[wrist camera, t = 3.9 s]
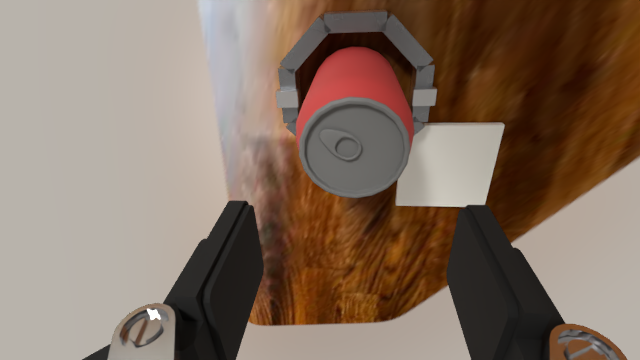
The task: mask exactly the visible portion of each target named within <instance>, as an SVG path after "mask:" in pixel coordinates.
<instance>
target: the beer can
mask: <svg viewBox="0 0 640 360" xmlns="http://www.w3.org/2000/svg"><path fill="white" fill-rule="evenodd" d="M414 131H415V130H414V124H413V117H412V112H411V110H410V107H409V105H408V103H407V100H406V98H405V96H404V93H403V91H402V89H401V86H400V84H399V82H398V79H397V77H396V75H395V73H394V71H393V69H392V67H391V65H390V63H389V62H388V61H387V60H386V59H385V58H384V57H383V56H382V55H381V54H380V53H379V52H376V51H374V50H372V49H369V48H367V47H358V46H350V47H347V48H343V49H340V50H337V51H336V52H334V53H333V54H331V55H330V56H328V57H327V58H326V59H325V61H324V62H323V63H322V64H321V66H320V67H319V68H318V70H317V73H316V75H315V77H314V79H313V82H312V84H311V86H310V89H309V91H308V93H307V95H306V98H305V100H304V102H303V104H302V107H301V110H300V113H299V115H298V118H297V121H296V142H297V146H298V149H299V156H300V159H301V162H302V165H303V168H304V170H305V172H306V173H307V174H308V176H309V177H310V178H311V180H312V181H313V182H314V183H315V184H317V185H318V186H319V187H321V188H322V189H324V190H325V191H327V192H329V193H332V194H335V195H337V196H340V197H350V198H360V197H366V196H372V195H375V194H377V193H379V192H381V191H383V190H385V189H387V188H388V187H390V186H391V185H392V184H393V183H394V182H395V181H396V180H397V179H398V178H399V177H400V176H401V174H402V172H403V171H404V169H405V167H406V166H407V164H408V159H409V154H410V152H411V147H412V142H413V137H414Z"/></svg>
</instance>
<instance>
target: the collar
mask: <svg viewBox="0 0 640 360" xmlns="http://www.w3.org/2000/svg"><path fill="white" fill-rule="evenodd" d="M352 32H383V33H384V34H385V35H386V36H387V37H388V38H389V40H390V41H391V42H392V43H393V44H394V45H395V46H396V47H397V48H398V49H399V50H400V52H401V53H402V54H403V55H404V56H405V57H406V58H407V59H408V60H409V61H410V63H411V64H412V74H411V85H410V96H409V107H410V110H411V112H412V117H413V124H414V130H415V131H414V136H415V135H416V134H417V133H418V132H419V131H421V130H422V129H423V128H424V127H425V126H424V123H423V122H428V116H429V108H430V106H435V101H436V94H437V88H436V87H432V85H433V77H434V69H435V65H434V64H433V63H432V62H431V61H433V59H432V58H431V56H430V55H429V54H428V53H427V52H426V51H425V50H424V49H423V47H422V46H421V45H420V44H419V43H418V42H417V41H416V39H415V38H414V37H413V36H412V35H411V34H410V33H409V32H408V30H407V29H406V28H405V27H404V26H403V25H402V24H401V22H400V21H399V20H398V19H397V18H396V17H395V16H394V15H393V14H392V13H391V12H389V13H388V14H387V11H386V10H385V9H381V10H356V11H331V12H326V13H325V14H324V16H323V15H322V14H321V15H320V16H319V17H318V18H317V19H316V20H315V22H314V23H313V24H312V25H311V26H310V28H309V29H308V30H307V31H306V32H305V34H304V35H303V36H302V37H301V39H300V40H299V41H298V42H297V43H296V45H295V46H294V47H293V48H292V49H291V51H290V52H289V53H288V54H287V55H286V57H285V58H284V59H283V60H282V61H281V63H280V64H281V66H280V67H279V69H278V72H279V82H280V89H278V90H277V91H276V98H277V108H282V111H283V121H284V123H288V124H287V127H286V128H287V129H288V130H290V131H291V132H292V133H293V134H294V135H295V136H296V121H297V118H298V115H299V113H300V110H301V107H302V102H301V88H300V74H299V67H300V66H301V64H302V63H303V62H304V61H305V60H306V59H307V58H308V56H309V55H310V54H311V53H312V52H313V51H314V49H315V48H316V47H317V46H318V45H319V44H320V43H321V41H322V40H323V39H324V38H325V37H326V36H327V34H328V33H352Z"/></svg>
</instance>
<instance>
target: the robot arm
mask: <svg viewBox="0 0 640 360" xmlns="http://www.w3.org/2000/svg"><path fill="white" fill-rule="evenodd" d="M263 269H264V265H263V258H262V253H261V247H260V241H259V235H258V229H257V224H256V218H255V212H254V207H253V206H252V205H248V202H247V201H229V202H228V203H227V205H226V207H225V208H224V211H223V212H222V214H221V215H220V217H219V219H218V221H217V222H216V224H215V226H214V227H213V229H212V231H211V232H210V235H209V236H208V238H207V239H203V240H201V242H200V243H199V244H198V246H197V248H196V249H195V251H194V253H193V254H192V256H191V258H190V259H189V261H188V263H187V264H186V266H185V268H184V269H183V271H182V273H181V274H180V276H179V277H178V280H177V281H176V282H175V284H174V286H173V287H172V289H171V291H170V292H169V294H168V296H167V297H166V299H165V301H164V302H163V304H160V303H154V304H148V305H145V306H143V307H140V308H138V309H136V310H134V311H133V312H131V313H129V314H128V315H127V316H126V317H125V318H124V319H123V320H122V321H121V322H120V323H119V325H118V326H117V327H116V329H115V331H114V334H113V337H112V341H111V344H110V345H108V346H106V347H104V348H103V349H100V350H99V351H97V352H95V353H93V354H91V355H90V356H88V357H86V358H84V359H82V360H236V357H237V354H238V351H239V348H240V344H241V341H242V338H243V335H244V332H245V328H246V326H247V322H248V319H249V316H250V313H251V310H252V307H253V304H254V300H255V297H256V294H257V291H258V288H259V285H260V282H261V278H262V275H263ZM447 282H448V285H449V288H450V291H451V295H452V298H453V302H454V305H455V308H456V311H457V315H458V318H459V321H460V324H461V328H462V330H463V334H464V337H465V341H466V344H467V347H468V350H469V354H470V357H471V360H627V358H626V357H625V355H624V354H623V353H622V352H621V350H620V349H619V348H618V347H617V346H616V345H615V344H614V343H613V342H611V341H610V340H609V339H608V338H606V337H604V336H603V335H601V334H600V333H598V332H596V331H594V330H592V329H589V328H587V327H584V326H580V325H576V324H565V322H564V321H563V319H562V317H561V315H560V314H559V312H558V310H557V309H556V307H555V306H554V304H553V302H552V301H551V299H550V298H549V296H548V294H547V293H546V291H545V289H544V288H543V286H542V284H541V283H540V281H539V280H538V278H537V277H536V275H535V273H534V272H533V270H532V268H531V267H530V265H529V263H528V262H527V260H526V259H525V257H524V255H523V254H522V252H521V251H520V250H519V249H517V248H513V247H512V245H511V244H510V242H509V240H508V239H507V237H506V235H505V234H504V232H503V230H502V228H501V227H500V225H499V223H498V222H497V220H496V218H495V217H494V215H493V213H492V212H491V210H490V208H489V207H488V206H487V205H467V206H466V207H465V209H461V210H460V211H459V214H458V219H457V224H456V229H455V234H454V239H453V243H452V248H451V253H450V258H449V263H448V268H447Z"/></svg>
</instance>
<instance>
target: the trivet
mask: <svg viewBox="0 0 640 360" xmlns="http://www.w3.org/2000/svg"><path fill="white" fill-rule="evenodd" d="M424 126H425V127H424V128H423V129H422V130H421V131H419V132H418V133H417V134H416V135H415V136H414V137H413V142H412V147H411V152H410V154H409V159H408V164H407V166H406V167H405V169H404V171H403V172H402V174H401V176H400V177H399V178H398V179H397V187H396V199H395V204H396V206H443V207H466V206H467V205H485V202H486V198H487V194H488V190H489V186H490V182H491V178H492V174H493V170H494V166H495V162H496V158H497V154H498V150H499V146H500V142H501V138H502V134H503V130H504V126H505V125H504V124H503V123H502V122H491V123H424Z"/></svg>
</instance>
